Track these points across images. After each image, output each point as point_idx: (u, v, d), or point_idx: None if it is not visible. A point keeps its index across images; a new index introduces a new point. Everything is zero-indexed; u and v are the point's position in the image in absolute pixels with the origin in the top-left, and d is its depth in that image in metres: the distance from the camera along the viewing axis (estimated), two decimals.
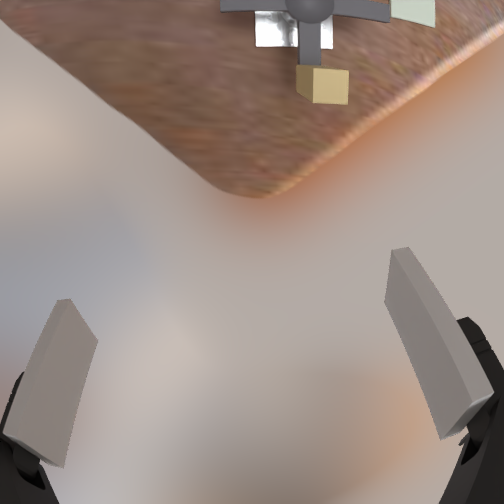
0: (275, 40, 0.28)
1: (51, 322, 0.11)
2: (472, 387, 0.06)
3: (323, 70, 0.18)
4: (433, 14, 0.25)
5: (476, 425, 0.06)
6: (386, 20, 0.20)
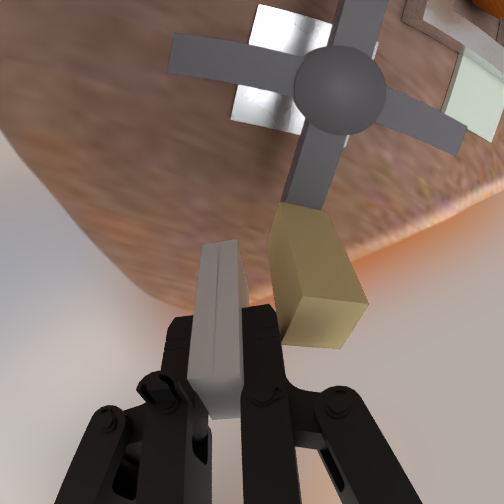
0: (262, 116, 0.20)
1: (208, 263, 0.12)
2: (219, 364, 0.08)
3: (321, 301, 0.10)
4: (496, 124, 0.19)
5: None
6: (452, 152, 0.14)
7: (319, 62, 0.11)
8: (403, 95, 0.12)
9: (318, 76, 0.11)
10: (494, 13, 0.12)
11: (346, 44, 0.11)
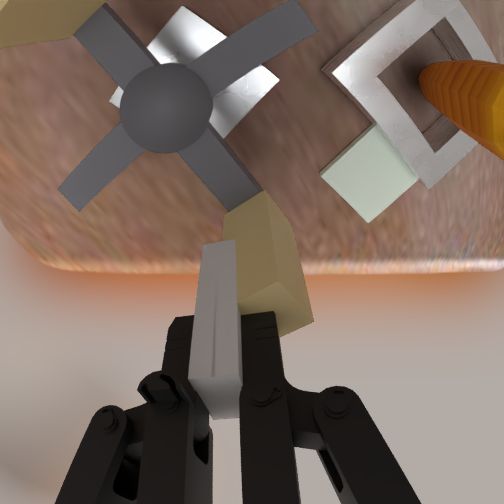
0: None
1: (208, 263, 0.12)
2: (218, 364, 0.08)
3: None
4: (382, 208, 0.24)
5: None
6: (310, 32, 0.11)
7: (128, 114, 0.12)
8: (207, 52, 0.11)
9: (139, 122, 0.13)
10: (428, 97, 0.16)
11: (129, 79, 0.12)
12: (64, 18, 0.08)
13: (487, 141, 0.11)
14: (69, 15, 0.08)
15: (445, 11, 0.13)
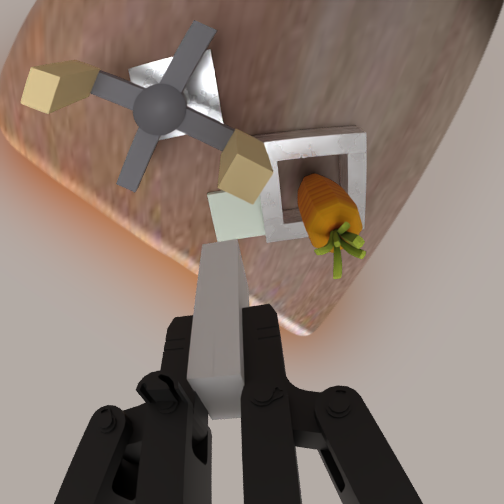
0: None
1: (207, 263, 0.12)
2: (220, 364, 0.08)
3: (224, 179, 0.18)
4: (232, 238, 0.37)
5: None
6: (212, 33, 0.19)
7: (141, 120, 0.22)
8: (166, 70, 0.20)
9: (148, 122, 0.22)
10: (298, 190, 0.31)
11: (133, 103, 0.21)
12: (83, 85, 0.18)
13: (305, 228, 0.26)
14: (85, 83, 0.18)
15: (350, 150, 0.29)
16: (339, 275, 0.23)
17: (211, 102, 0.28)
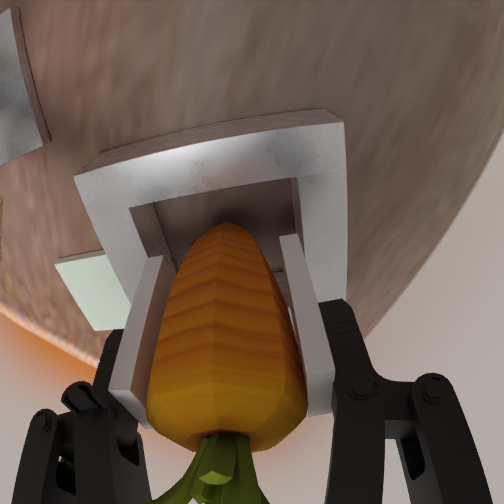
0: None
1: (147, 277, 0.12)
2: (311, 361, 0.08)
3: None
4: (113, 327, 0.20)
5: (334, 404, 0.08)
6: None
7: None
8: None
9: None
10: None
11: None
12: None
13: None
14: None
15: (304, 170, 0.12)
16: None
17: (17, 102, 0.11)
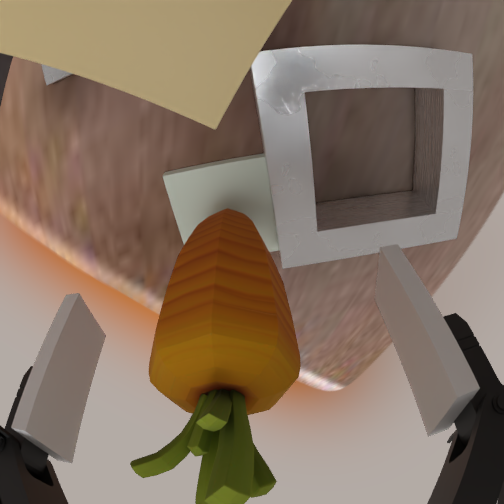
0: None
1: (60, 317, 0.11)
2: (457, 382, 0.06)
3: None
4: None
5: (463, 421, 0.07)
6: None
7: None
8: None
9: None
10: None
11: None
12: None
13: None
14: None
15: (448, 84, 0.12)
16: None
17: None
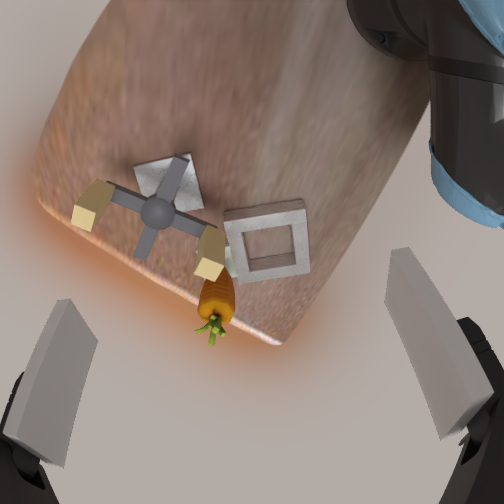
0: (141, 179, 0.41)
1: (51, 322, 0.11)
2: (472, 387, 0.06)
3: (197, 269, 0.33)
4: None
5: (476, 425, 0.06)
6: (186, 165, 0.33)
7: (146, 220, 0.36)
8: (159, 189, 0.35)
9: (151, 221, 0.36)
10: None
11: (140, 209, 0.36)
12: (106, 202, 0.33)
13: (198, 312, 0.42)
14: (107, 200, 0.33)
15: (294, 222, 0.44)
16: (211, 344, 0.39)
17: (194, 191, 0.43)
